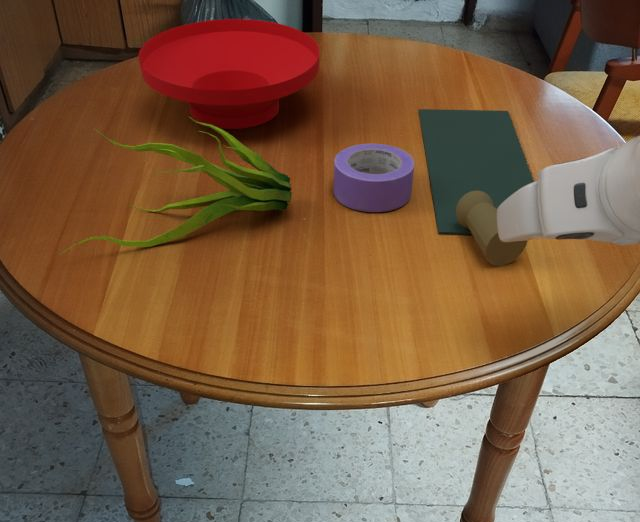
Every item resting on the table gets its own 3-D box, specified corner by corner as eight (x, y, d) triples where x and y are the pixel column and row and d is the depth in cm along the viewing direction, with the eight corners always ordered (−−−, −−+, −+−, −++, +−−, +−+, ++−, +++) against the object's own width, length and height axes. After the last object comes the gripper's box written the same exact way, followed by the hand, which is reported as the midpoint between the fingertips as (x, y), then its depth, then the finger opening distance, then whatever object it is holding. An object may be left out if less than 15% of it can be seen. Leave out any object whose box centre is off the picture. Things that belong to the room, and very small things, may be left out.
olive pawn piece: (525, 258, 90) (487, 215, 97) (530, 219, 86) (489, 177, 92) (484, 271, 90) (448, 228, 97) (486, 233, 85) (448, 190, 92)
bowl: (206, 66, 135) (199, 9, 127) (346, 93, 126) (348, 34, 119) (114, 127, 116) (100, 66, 109) (270, 165, 108) (267, 100, 100)
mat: (418, 111, 121) (418, 108, 121) (507, 112, 121) (508, 110, 121) (438, 234, 95) (438, 231, 94) (552, 236, 94) (553, 234, 94)
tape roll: (334, 172, 106) (335, 141, 102) (408, 174, 106) (412, 143, 102) (332, 212, 98) (333, 180, 95) (413, 214, 98) (417, 182, 94)
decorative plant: (95, 197, 101) (68, 95, 90) (294, 199, 101) (291, 97, 90) (62, 267, 89) (27, 160, 78) (288, 270, 89) (283, 163, 78)
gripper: (735, 151, 64) (649, 193, 77) (527, 168, 62) (476, 208, 75) (740, 218, 64) (653, 249, 78) (533, 237, 62) (481, 265, 76)
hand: (564, 229), depth 77 cm, fingers closed
